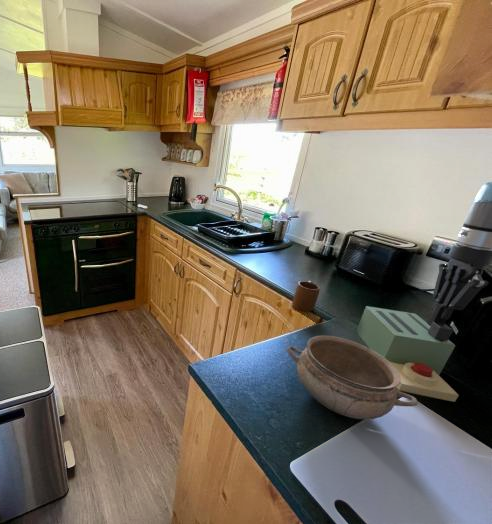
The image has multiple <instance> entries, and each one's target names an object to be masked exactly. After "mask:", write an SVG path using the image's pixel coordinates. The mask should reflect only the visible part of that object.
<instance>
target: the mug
mask: <svg viewBox="0 0 492 524" xmlns="http://www.w3.org/2000/svg"><path fill="white" fill-rule="evenodd" d="M320 290H321V287H320V286H319V285H317V284H316V283H314V282H313V281H312V280H308V281H305V280H304V281H301V280H300V281H298V283H297V286H296V288H295V292H294V295H293V299H292V304H291V305H292V306H293V307H294V308H295V309H297V310H299V311H303V312H312V311H313V310H315V307H316V303H317V301H318V297H319V294H320Z"/></svg>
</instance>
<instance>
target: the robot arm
mask: <svg viewBox="0 0 492 524" xmlns="http://www.w3.org/2000/svg"><path fill="white" fill-rule="evenodd" d="M448 257H449V258H451V259H450V260H449V261H448V263H447V262H446V263H443V262H442V263H439V264H438V274H437V278H436V281H435V285H434V289H433V293H432V298H433V299H435V302H436V304H435V306H434V309H433V310H432V314H431V316H430V318H429V320H428V322H427V323H428V325H429V326H431V325H432V323H433V322H436V323H442V324H447V321H448V320H450V317H451V316H452V313H453V312H454V311H455V310H457V311H463V310H465V308H466V307H467V306H468V305H469V303H470V302H471V301H472V300H473V299H474V298H475V297H476V296H477V294H479V292H480V291H481V290H482V289H483V288H485V287H487V286H488V285H489V281H488V280H483V278H482V275H483V274H484V268H485V267H486V266H490V265H492V181H489V182H486V183H484V184H483V185H482V186H481V188H480V189H479V191H478V192H477V194H476V196H475V198H474V199H473V203H472V205H471V207H470V209H469V212H468V213H467V216H466V218H465V220H464V223H463V224H462V227H461V229H460V231H459V233H458V235H457V237H456V239H455V243H453V245H452V247H451V249H450V251H449V253H448Z"/></svg>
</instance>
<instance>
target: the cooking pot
mask: <svg viewBox="0 0 492 524" xmlns="http://www.w3.org/2000/svg"><path fill="white" fill-rule="evenodd" d="M286 352H287V354H288V355H289V356H290V357H291V359H293V361H295V363H296V371H297V377H298V379H299V381H300V383H301V386H302V387H303V388H304V389H305V391H306V392H307V393H308V394H309V395H310V396H311V397H312V398H313V399H314V400H315V401H316V402H318V403H319V404H320V405H322V406H323V407H325V408H327V409H328V410H330V411H332V412H334V413H336V414H338V415H341V416H344V417H347V418H352V419H357V420H375V419H378V418H382V417H384V416H385V415H387V414H389V413H390V412H391V411H392V410H393V408H394V407H416V406H417V405H418V404H419V401H418V400H417V398H416V397H414V396H413V395H410V394H408V393H406V392H403V391H399V390H398V389H397V387H396V386H398V385H399V384H400V381H401V377H400V374H399V372H398V370H397V369H396V368H395V367H394V366H393V365H392V364H391V363H390V362H389V361H388V360H387V359H385V358H384V357H383V356H381V355H380V354H378V353H377V352H375V351H373V350H371V349H370V348H369V347H368V346H365V345H364V344H361V343H358V342H356V341H353V340H351V339H350V340H349V339H347V338H344V337H339V336H333V335H316V336H313V337H310V338H309V339H308V340H307V342H306V347H305V349H304V350H300V349H299V348H296V347H294V346H291V345H289V346H287V347H286ZM295 353H296V354H298V355H296V354H295ZM397 397H398V398H404V399H407V400H410V401H405V400H401V399H398V398H397Z"/></svg>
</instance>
